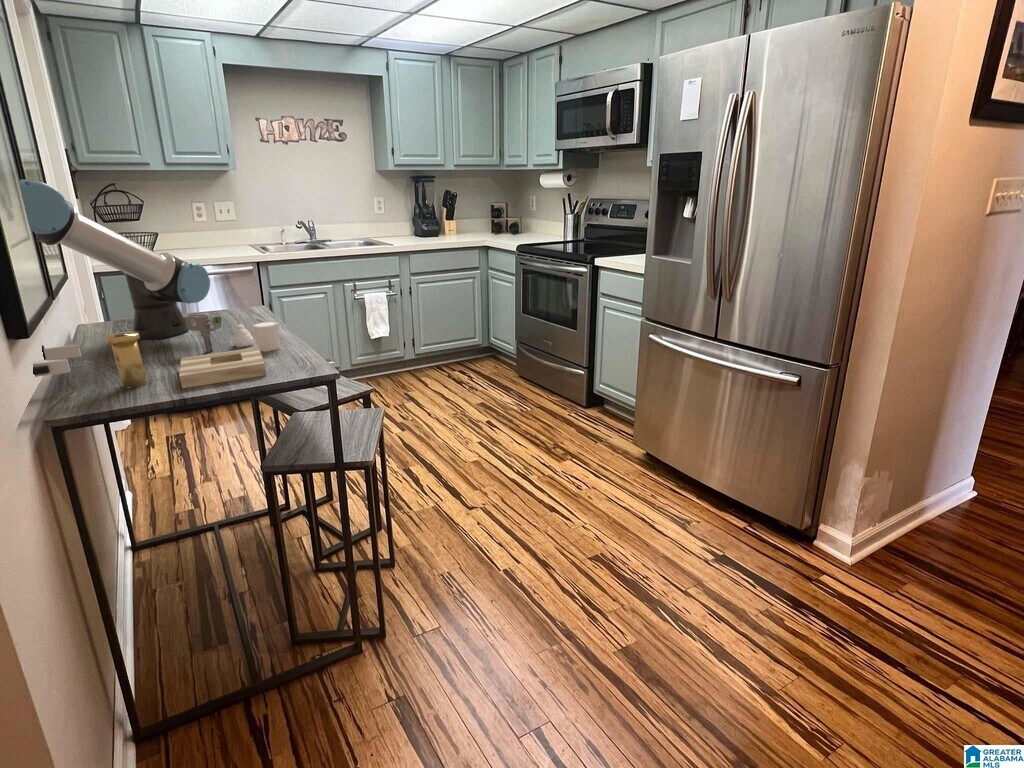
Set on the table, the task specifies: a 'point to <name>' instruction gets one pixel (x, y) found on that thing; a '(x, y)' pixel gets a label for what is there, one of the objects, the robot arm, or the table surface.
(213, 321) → the mechanical component
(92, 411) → the table surface
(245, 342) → the garlic bulb
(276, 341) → the white cup
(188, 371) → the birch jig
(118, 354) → the brass sleeve
